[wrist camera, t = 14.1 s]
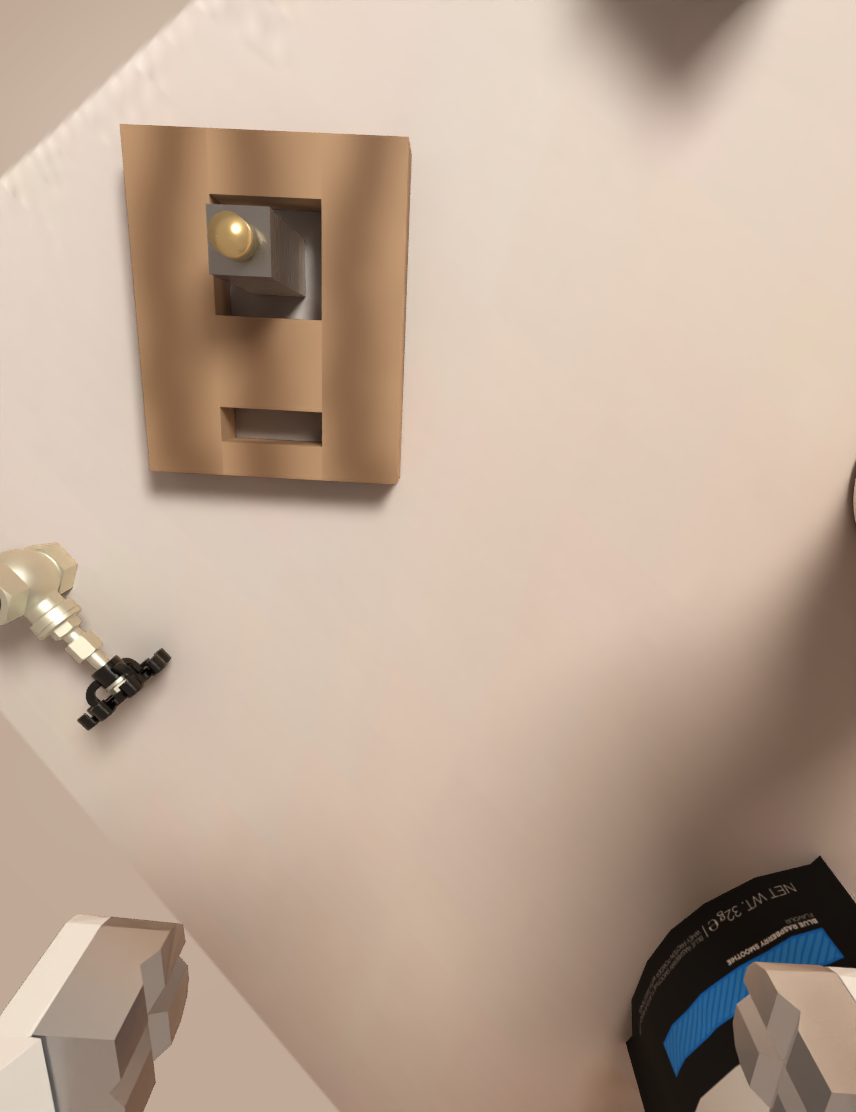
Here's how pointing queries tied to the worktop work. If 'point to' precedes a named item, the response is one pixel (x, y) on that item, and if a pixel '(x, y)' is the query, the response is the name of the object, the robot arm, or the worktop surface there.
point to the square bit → (255, 250)
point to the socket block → (270, 343)
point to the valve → (67, 623)
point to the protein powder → (728, 983)
